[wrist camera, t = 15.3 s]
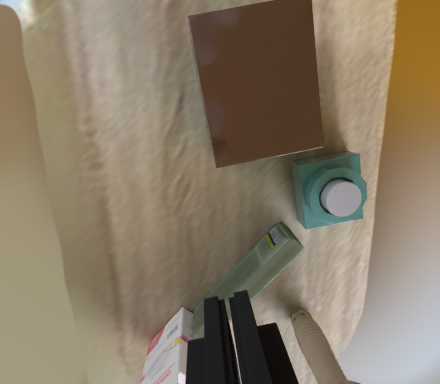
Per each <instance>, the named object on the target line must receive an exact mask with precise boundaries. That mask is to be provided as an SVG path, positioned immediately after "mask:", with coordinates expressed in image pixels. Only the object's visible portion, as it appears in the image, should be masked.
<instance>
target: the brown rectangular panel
mask: <svg viewBox="0 0 440 384" xmlns="http://www.w3.org/2000/svg"><path fill="white" fill-rule="evenodd" d="M188 22H189V27H190V32H191V38H192V43H193V48H194V53H195V59H196V64H197V69H198V74H199V80H200V85H201V90H202V95H203V101H204V106H205V111H206V116H207V122H208V127H209V132H210V137H211V143H212V148H213V153H214V158H215V164H216V168H221V167H226V166H231V165H236V164H241V163H246V162H251V161H256V160H262V159H267V158H272V157H277V156H282V155H287V154H292V153H297V152H302V151H308V150H313V149H318V148H323V137H322V124H321V112H320V99H319V87H318V74H317V61H316V49H315V36H314V24H313V11H312V0H273V1H267V2H262V3H257V4H251V5H246V6H240V7H235V8H230V9H224V10H219V11H213V12H208V13H202V14H197V15H192V16H188Z"/></svg>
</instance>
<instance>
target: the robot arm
mask: <svg viewBox="0 0 440 384" xmlns="http://www.w3.org/2000/svg"><path fill="white" fill-rule="evenodd" d="M233 294H234V297H229V298H228V299H229V305H230V311H231V318H232V324H233V330H234V337H235V343H236V350H237V356H238V362H239V369H240V375H241V381H242V384H299V383H298V381H297V378H296V375H295V372H294V370H293V367H292V364H291V362H290V359H289V356H288V353H287V351H286V348H285V345H284V343H283V340H282V337H281V335H280V332H279V329H278V327H277V324H276V323H271V324H266V325H261V326H257V324H256V321H255V317H254V313H253V310H252V306H251V302H250V299H249V295H248V291H247V290H243V291H238V292H233ZM185 384H241V383H240V377H239V370H238V364H237V358H236V353H235V348H234V344H233V339H232V334H231V329H230V325H229V320H228V315H227V310H226V305H225V301H224V299H219V298H218V296H214V297H209V298H204V337H203V338H198V339H193V340H189V341H188V345H187V362H186V381H185Z"/></svg>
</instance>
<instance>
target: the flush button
mask: <svg viewBox="0 0 440 384" xmlns="http://www.w3.org/2000/svg"><path fill="white" fill-rule="evenodd" d="M320 200H321V204H322V206H323V207H324V208H325V209H326V210H327V211H329V212H330V213H332V214H333V215H335V216H339V217H344V216H348V215H350V214H352V213H353V212H354V211H356V209H357V208H358V207H359V205H360V202H361V192H360V190H359V188H358V187H357V186H356V185H355V184H353V183H351V182H349V181H346V180H344V179H335V180H332V181H330V182H329V183H327V184H326V185H325V186H324V188H323V190H322V192H321V196H320Z"/></svg>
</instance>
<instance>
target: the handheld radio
mask: <svg viewBox="0 0 440 384" xmlns="http://www.w3.org/2000/svg"><path fill="white" fill-rule="evenodd" d="M303 251H304V247H303V245H302V244H301V243H300V242H299V240H298V239H297V238H296V236H295V235H294V234H293V233H292V231H291V230H290V229H289V228H288V227H287V226H286V225H285V224H283V223H282V222H280V223H278V224H276V225H275V226H274V227H273V228H272V229H271V230H270V231H269V232H268V233H267V234H266V235H265V236H264V237H263V238H262V239H261V240H260V241H259V242H258V243H257V244H256V245H255V247H254V248H253V249H252V250H251V251H250V252H249V253H248V254H247V255H246V256H245V257H244V258H243V259H242V260H241V261H240V262H239V263H238V264H237V265H236V267H235V268H234V269H233V270H232V271H231V272H230V273H229V274H228V275H227V276H226V277H225V278H224V279H223V280H222V281H221V282H220V283H219V284H218V285H217V286H216V287H215V288H214V289H213V290H212V291H211V292H210V293H209V294H208V295H207V296H206V297H205V298H209V297H214V296H218V298H219V299H224V301H225V305H226V310H227V315H228V320H229V322H230V321H231V320H232V318H231V311H230V305H229V299H228V298H229V297H234V294H233V292H238V291H243V290H247V291H248V295H249V299H250V302H251V301H252V300H253V299H254V298H255V297H256V296H257V295H258V294H259V293H260V292H261V291H262V290H263V289H264V288H266V287H267V286H268V285H269V284H270V283H271V282H272V281H273V280H274V279H275V278H276V277H277V276H278V275H279V274H280V273H281V272H282V271H283V270H284V269H285V268H286V267H287V266H288V265H289V264H290V263H291V262H292V261H293V260H294V259H295V258H296V257H297V256H298V255H299V254H301V253H302V252H303ZM193 314H194V316H193V326H192V328H193V330H192V340H193V339H198V338H203V337H204V299H203V300H202V301H201V302H200V303H199V304H198V305H197V306H196V307H195V308H194V313H193Z"/></svg>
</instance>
